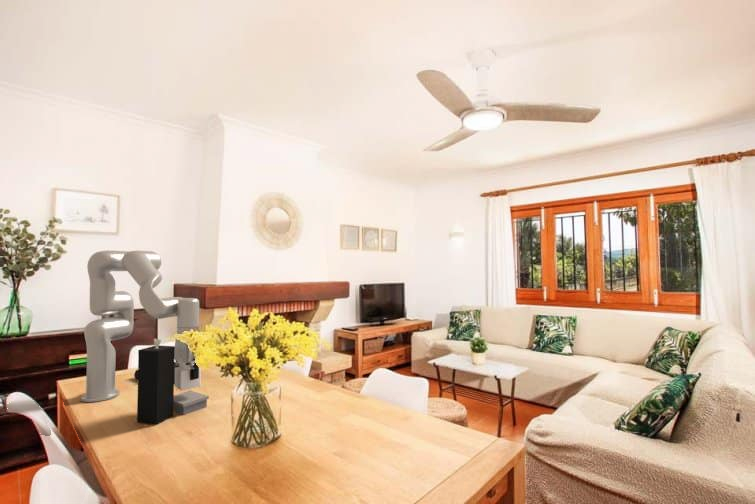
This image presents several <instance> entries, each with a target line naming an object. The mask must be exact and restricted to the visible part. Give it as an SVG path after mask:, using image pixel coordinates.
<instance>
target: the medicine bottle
mask: <svg viewBox="0 0 755 504" xmlns="http://www.w3.org/2000/svg"><path fill="white" fill-rule="evenodd" d="M192 360H195V359H192ZM194 364H195V362H194V363H193V365H194ZM190 369H191V366H190V363H184V362H182V358H179V367H176V368H175V384H174V388H177V390H179V391H186V390H190V389H195V388H199V387H201V385H202V383H201V380H202V378H201V377H202V370H201V369H202V368H201V367H200V368H199V378H198V379H194V380H190Z"/></svg>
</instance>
